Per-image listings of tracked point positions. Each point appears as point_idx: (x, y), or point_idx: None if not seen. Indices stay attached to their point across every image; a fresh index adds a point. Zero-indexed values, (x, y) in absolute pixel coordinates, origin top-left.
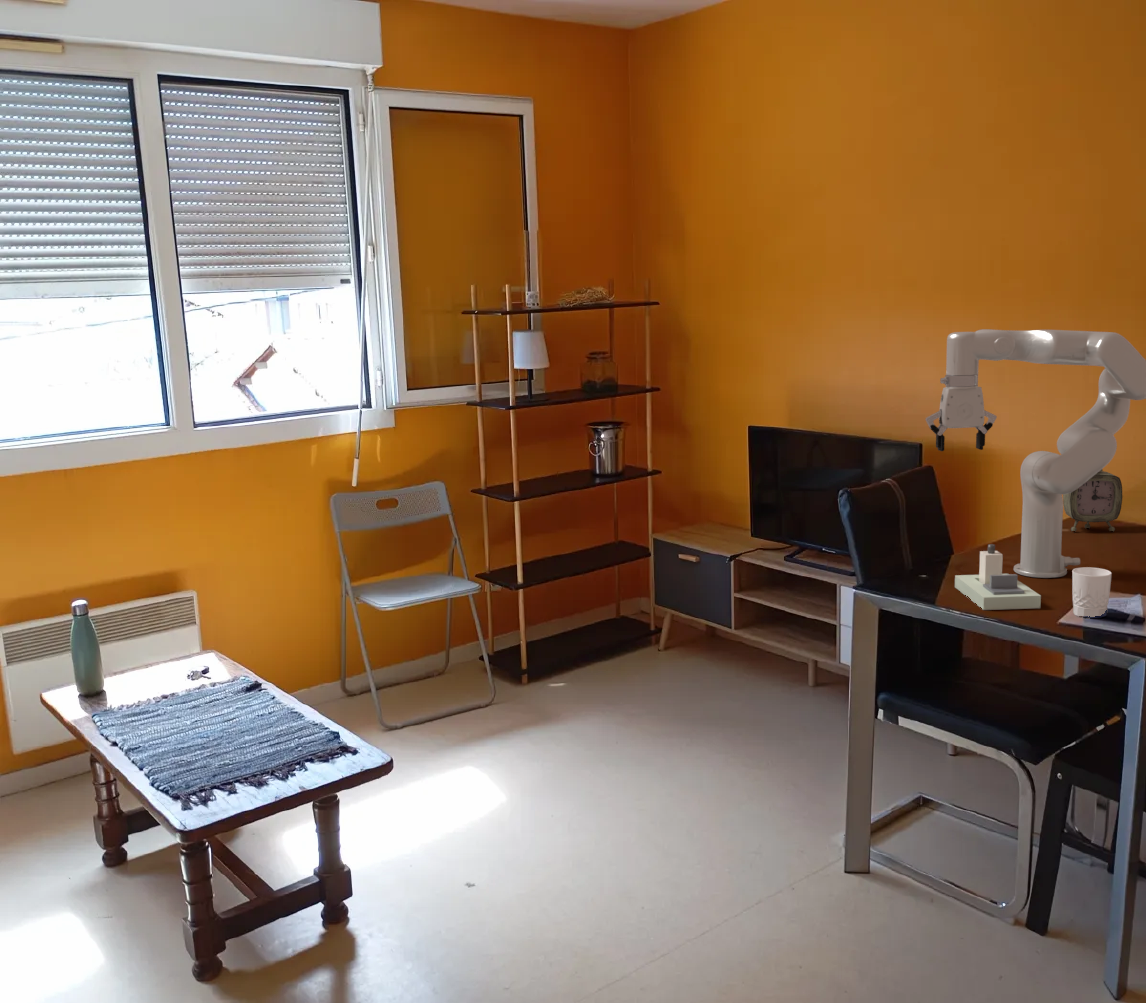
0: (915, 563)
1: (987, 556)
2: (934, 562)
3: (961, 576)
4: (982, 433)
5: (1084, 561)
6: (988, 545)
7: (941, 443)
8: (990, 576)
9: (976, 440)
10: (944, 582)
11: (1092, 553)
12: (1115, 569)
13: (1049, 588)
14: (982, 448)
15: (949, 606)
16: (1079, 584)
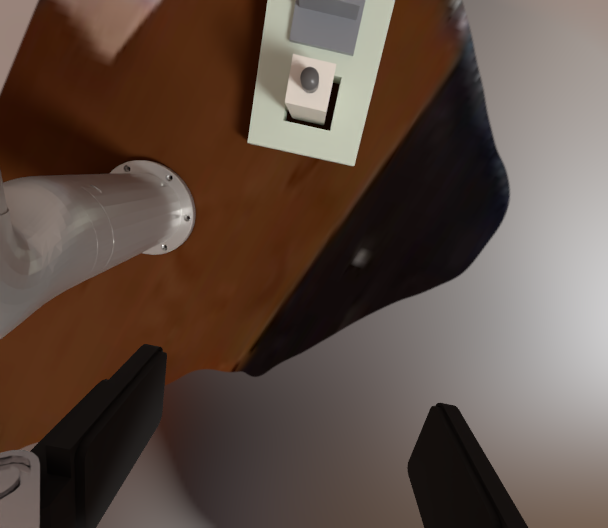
0: (327, 334)
1: (331, 64)
2: (293, 329)
3: (346, 153)
4: (43, 475)
5: None
6: (318, 77)
7: (480, 460)
8: (360, 3)
9: (130, 465)
10: (350, 203)
11: None
12: None
13: (187, 95)
14: (146, 346)
15: (442, 32)
16: None
